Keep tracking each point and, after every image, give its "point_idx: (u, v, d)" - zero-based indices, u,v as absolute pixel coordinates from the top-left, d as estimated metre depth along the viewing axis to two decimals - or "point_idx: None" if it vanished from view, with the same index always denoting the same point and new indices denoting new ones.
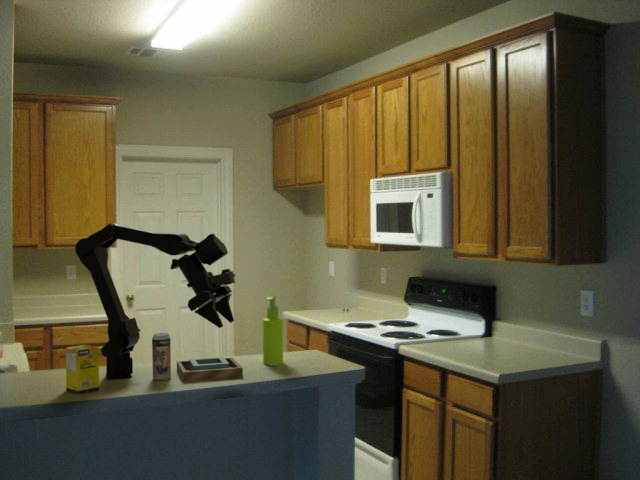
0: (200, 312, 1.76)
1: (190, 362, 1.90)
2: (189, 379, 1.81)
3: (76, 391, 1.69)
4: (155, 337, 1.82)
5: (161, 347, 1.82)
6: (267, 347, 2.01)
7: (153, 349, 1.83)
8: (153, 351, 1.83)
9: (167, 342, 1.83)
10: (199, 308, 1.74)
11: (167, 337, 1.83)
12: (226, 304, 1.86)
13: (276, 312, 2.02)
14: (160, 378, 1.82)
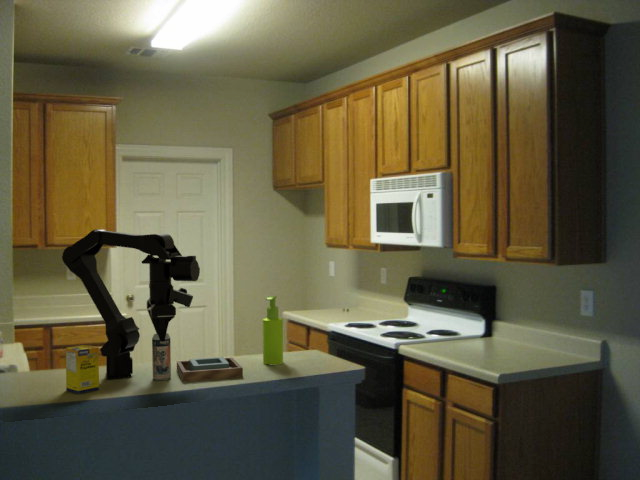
0: (155, 319, 1.77)
1: (190, 362, 1.90)
2: (189, 379, 1.81)
3: (76, 391, 1.69)
4: (155, 337, 1.82)
5: (161, 347, 1.82)
6: (267, 347, 2.01)
7: (153, 349, 1.83)
8: (153, 351, 1.83)
9: (167, 342, 1.83)
10: (159, 317, 1.76)
11: (167, 337, 1.83)
12: None
13: (276, 312, 2.02)
14: (160, 378, 1.82)
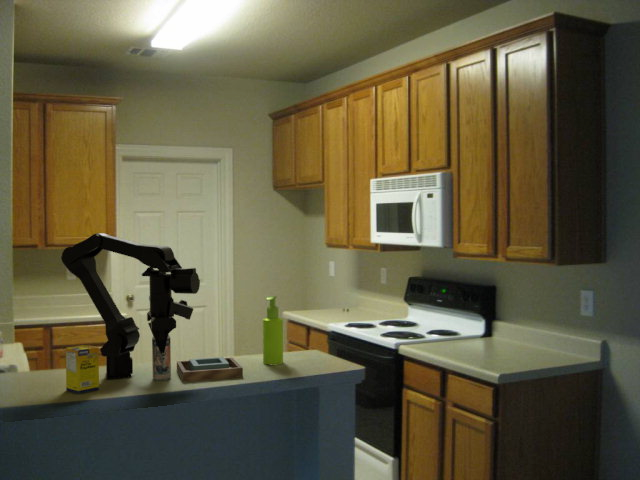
0: (154, 331, 1.79)
1: (190, 362, 1.90)
2: (189, 379, 1.81)
3: (76, 391, 1.69)
4: None
5: None
6: (267, 347, 2.01)
7: (153, 349, 1.83)
8: (153, 351, 1.83)
9: (167, 342, 1.83)
10: (158, 328, 1.78)
11: None
12: None
13: (276, 312, 2.02)
14: (160, 378, 1.82)
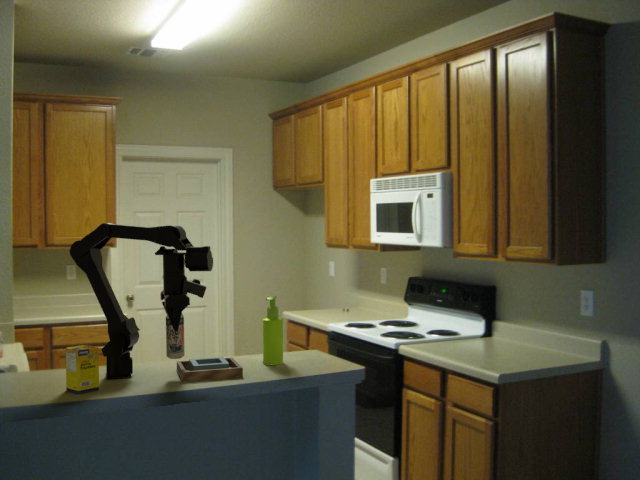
0: (168, 309, 1.80)
1: (190, 362, 1.90)
2: (189, 379, 1.81)
3: (76, 391, 1.69)
4: None
5: None
6: (267, 347, 2.01)
7: (167, 328, 1.84)
8: (167, 330, 1.84)
9: (181, 321, 1.84)
10: (172, 306, 1.79)
11: (181, 316, 1.84)
12: None
13: (276, 312, 2.02)
14: (174, 357, 1.83)
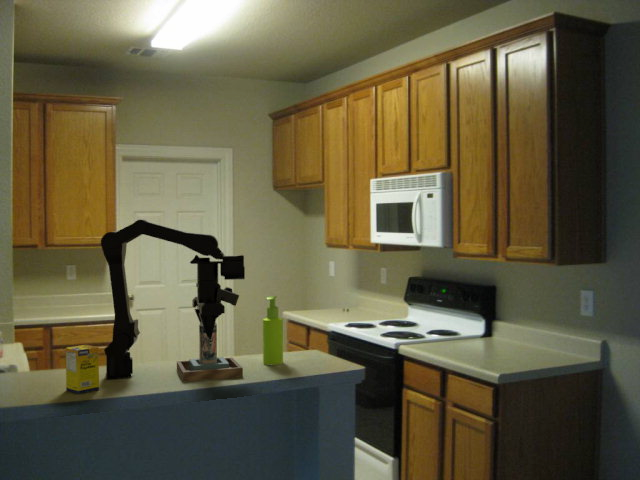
0: (203, 316, 1.85)
1: (190, 362, 1.90)
2: (189, 379, 1.81)
3: (76, 391, 1.69)
4: (202, 324, 1.88)
5: None
6: (267, 347, 2.01)
7: (200, 335, 1.88)
8: (200, 337, 1.88)
9: (214, 329, 1.89)
10: (207, 314, 1.84)
11: None
12: None
13: (276, 312, 2.02)
14: (207, 363, 1.88)
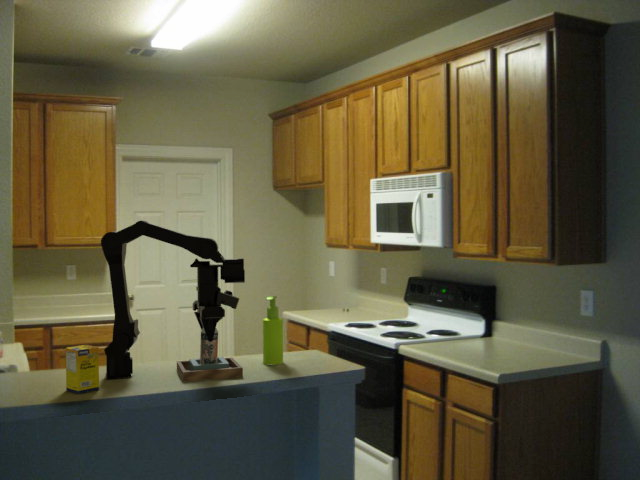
0: (204, 320, 1.84)
1: (190, 362, 1.90)
2: (189, 379, 1.81)
3: (76, 391, 1.69)
4: (204, 331, 1.88)
5: None
6: (267, 347, 2.01)
7: (201, 342, 1.89)
8: (201, 344, 1.89)
9: (215, 336, 1.89)
10: (208, 318, 1.83)
11: (215, 331, 1.89)
12: None
13: (276, 312, 2.02)
14: None
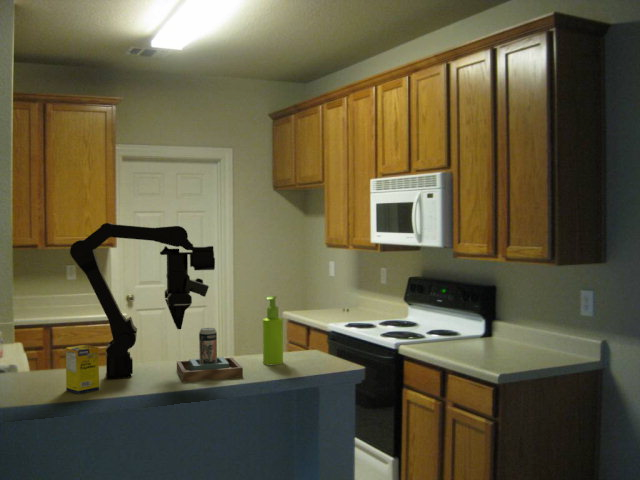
0: (171, 308, 1.84)
1: (190, 362, 1.90)
2: (189, 379, 1.81)
3: (76, 391, 1.69)
4: (202, 331, 1.88)
5: (208, 341, 1.88)
6: (267, 347, 2.01)
7: (200, 343, 1.88)
8: (200, 345, 1.88)
9: (214, 336, 1.89)
10: (175, 305, 1.83)
11: (214, 331, 1.89)
12: None
13: (276, 312, 2.02)
14: None
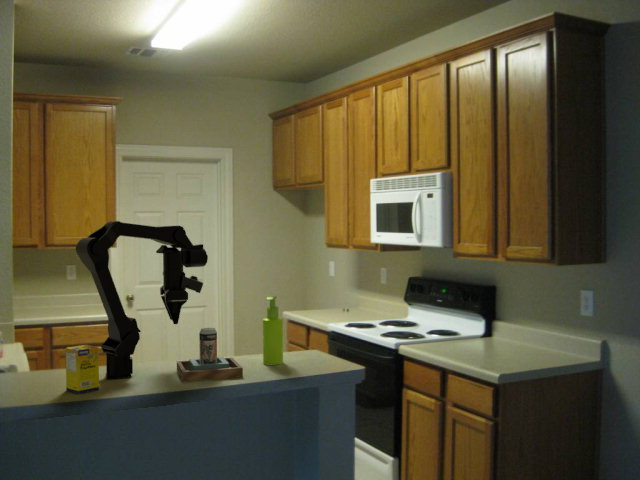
0: (169, 304, 1.93)
1: (190, 362, 1.90)
2: (189, 379, 1.81)
3: (76, 391, 1.69)
4: (203, 331, 1.88)
5: (208, 341, 1.88)
6: (267, 347, 2.01)
7: (200, 343, 1.88)
8: (200, 345, 1.89)
9: (214, 336, 1.89)
10: (172, 301, 1.91)
11: (214, 331, 1.89)
12: None
13: (276, 312, 2.02)
14: None
